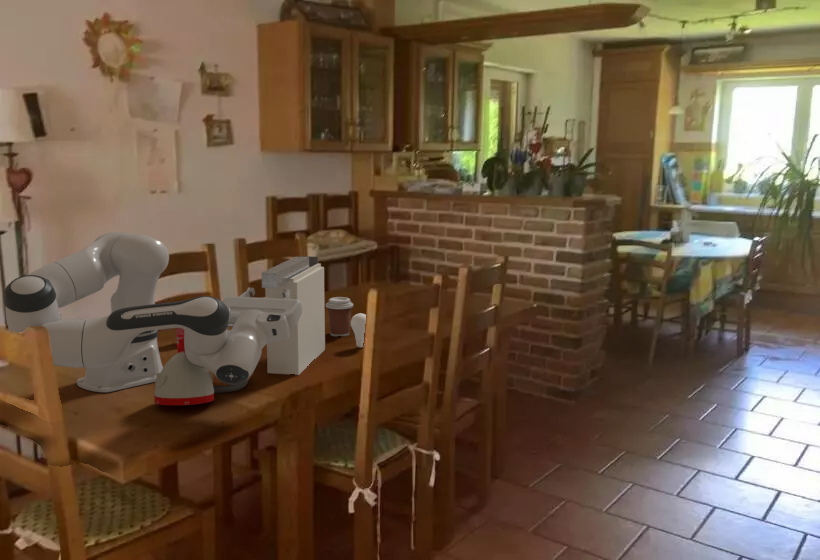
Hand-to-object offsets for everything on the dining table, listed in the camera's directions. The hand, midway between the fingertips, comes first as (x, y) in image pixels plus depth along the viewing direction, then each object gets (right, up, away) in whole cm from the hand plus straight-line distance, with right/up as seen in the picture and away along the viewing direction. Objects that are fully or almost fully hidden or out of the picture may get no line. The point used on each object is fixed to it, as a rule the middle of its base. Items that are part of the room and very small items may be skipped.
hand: (269, 290), depth 190 cm
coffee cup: (+12, -16, +58) cm, 62 cm away
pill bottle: (-35, -18, +45) cm, 59 cm away
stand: (+3, -21, +28) cm, 35 cm away
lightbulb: (+21, -19, +42) cm, 50 cm away
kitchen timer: (-19, -27, -10) cm, 34 cm away
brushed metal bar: (+2, +3, +15) cm, 15 cm away
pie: (-13, -25, +5) cm, 29 cm away
